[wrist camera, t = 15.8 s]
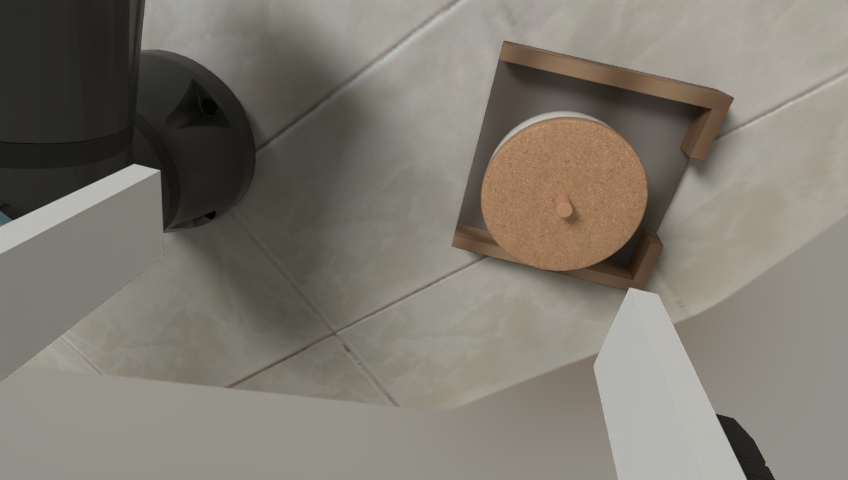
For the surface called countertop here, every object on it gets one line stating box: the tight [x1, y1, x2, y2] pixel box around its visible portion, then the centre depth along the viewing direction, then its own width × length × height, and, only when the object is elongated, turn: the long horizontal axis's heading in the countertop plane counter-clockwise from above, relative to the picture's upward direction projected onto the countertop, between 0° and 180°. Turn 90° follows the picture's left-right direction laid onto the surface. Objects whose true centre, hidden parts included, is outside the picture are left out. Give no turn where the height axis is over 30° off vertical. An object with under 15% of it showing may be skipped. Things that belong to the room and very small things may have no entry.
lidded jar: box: [481, 111, 648, 271], centre depth 37 cm, size 11×11×9 cm
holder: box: [452, 41, 734, 290], centre depth 40 cm, size 16×16×3 cm
